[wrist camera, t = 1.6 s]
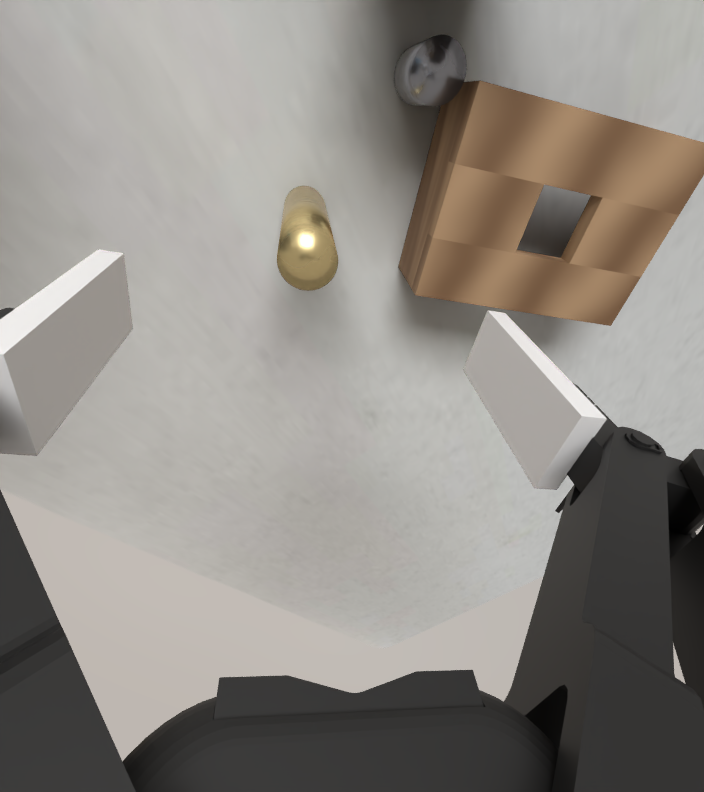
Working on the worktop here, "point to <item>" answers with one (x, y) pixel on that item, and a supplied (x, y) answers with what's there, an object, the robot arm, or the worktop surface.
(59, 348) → the robot arm
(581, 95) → the worktop surface
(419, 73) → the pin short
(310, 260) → the pin long
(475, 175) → the bridge
